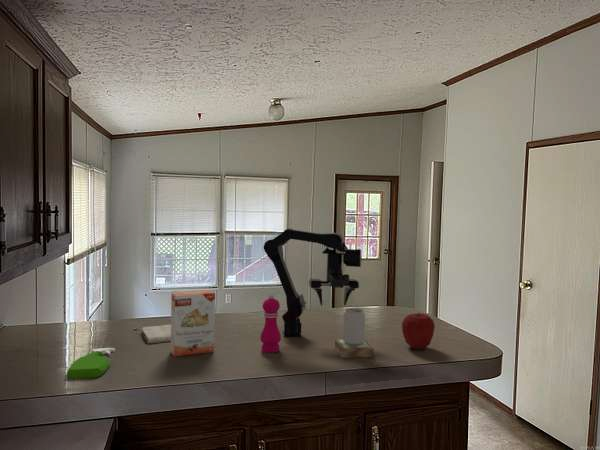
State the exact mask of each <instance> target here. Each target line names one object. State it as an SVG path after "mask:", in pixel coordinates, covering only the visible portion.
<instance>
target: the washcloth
mask: <svg viewBox="0 0 600 450" xmlns="http://www.w3.org/2000/svg"><path fill="white" fill-rule="evenodd" d="M141 332H142V336H143V338H144V339H145V340H146V342H147V344H157V343H165V342H166V343H167V342H171V324H163V325H149V326H143V327H142V328H141Z"/></svg>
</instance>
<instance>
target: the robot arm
mask: <svg viewBox="0 0 600 450" xmlns="http://www.w3.org/2000/svg"><path fill="white" fill-rule="evenodd" d="M291 240H294V241H295V240H296V241H302V242H309V243H315V244H319V245H321V246H325V247H326V248H325V249H324V250H323V251H322V253H321V254H322V255H323V254H326V256H327V257H326V259H327V261H326V262H327V263H326V279H325V280H322V279H320V278H310V279H309V280H308V286H309V287H310V288H311V289H313V290H314V291H315V293H316V294H317V297H318V301H319V304H320V306H321V307H322V306H323V293H322V292H323V288H322V287H324V286H325V287H326V286H327V287H331V288H333V289H336V288H340V289H343V288H344V291H343V293H344V295H343V306H346V305H347V302H348V300H349V297H350V295H351V293H352V292H354V291H356V289H359V286H360V283H359V281H358V280H357V279H355V278H350V275H349V274H343V269H342V267H343V265H345V267H351V268H352V267H353V268H361V267H362V249H359V248H358V249H349V248H348V247H347V245H346V243H345V242H344V237H343V236H342V234H341V233H339V232H328V233H327V232H325V233H318V232H312V231H307V230H300V229H293V228H286V229H285V230H284V231H282V232H281V233H280V234H278V235H277V236H275V237H274V238H271V239H268V240H266V241H265V242H264V245H263V250H264V252H265V253H266V255H267V257H268V259H270V261H271V262H272V264H273V266H274V269H275V271H276V273H277V276H278V278H279V282H280V283H281V287H282V289H283V291H284V294H285V299H286V308H287V311H286V312H285V313H284V314H282V320H283V322H282V323H283V327H282V328H283V330H282V335H283V337H301V336H302V322H301V319H300V317H301V315H302V314H303V313H304V312H305V311H306V307H307V306H306V305H307V302H306V301H305V298H304V294H299V293H298V292H297V290H296V288H295V284H294V283H293V280H292V278H291V275H290V272H289V269H288V266H287V264H286V262H285V257H284V249H283V246H284V245H286V244H287V243H288V242H289V241H291Z"/></svg>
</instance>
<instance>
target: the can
mask: <svg viewBox="0 0 600 450" xmlns="http://www.w3.org/2000/svg"><path fill="white" fill-rule="evenodd" d="M342 323H343V326H342V327H343V328H342V331H343V333H342V336H343V337H342V340H343V341H344V342H345V343H346V344H348V345H354V346H356V345H361V344H362V343H363V342H364V339H365V336H366V334H365V333H366V330H365V328H366V327H365V326H366V314H365V313H364V310H363V309H362V308H358V307H350V308H349V307H347V308H346V309H345V312H343V322H342Z"/></svg>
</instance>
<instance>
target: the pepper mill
mask: <svg viewBox="0 0 600 450" xmlns="http://www.w3.org/2000/svg"><path fill="white" fill-rule="evenodd" d="M274 297H275V296H274V294H272V293H270V294H269V296H268V298H266V299H265V300H264V301H263V303H262V309H263V312H264V313H263V314H264V315H263V317H264V326H263V328H262V331H261V333H260V342H261V343H262V345H261V351H262V352H263V353H268V354H271V353H272V354H274V353H277V352H279V351H280V345H279V343H280V341H281V339H282V335H281V332H280V329H279V327H278V324H277V323H278V322H277V321H278V320H277V319H278V317H279V312H278V311H279V310H280V307H281V305H280V302H279V300H278V299H276V298H274Z"/></svg>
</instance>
